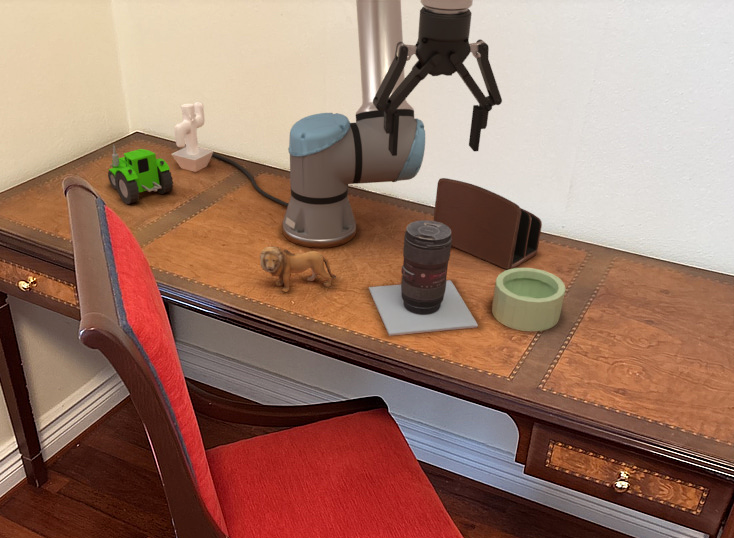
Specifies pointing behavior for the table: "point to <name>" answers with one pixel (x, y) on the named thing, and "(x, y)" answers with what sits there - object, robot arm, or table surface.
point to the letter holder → (486, 223)
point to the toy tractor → (139, 174)
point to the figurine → (191, 139)
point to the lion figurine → (294, 265)
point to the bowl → (528, 299)
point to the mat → (405, 322)
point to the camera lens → (425, 266)
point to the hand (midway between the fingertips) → (433, 150)
